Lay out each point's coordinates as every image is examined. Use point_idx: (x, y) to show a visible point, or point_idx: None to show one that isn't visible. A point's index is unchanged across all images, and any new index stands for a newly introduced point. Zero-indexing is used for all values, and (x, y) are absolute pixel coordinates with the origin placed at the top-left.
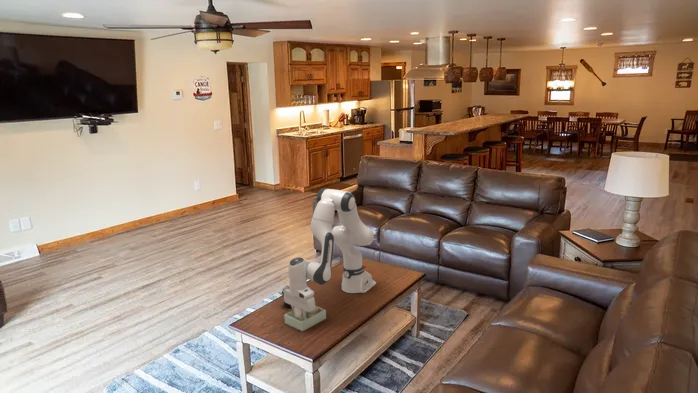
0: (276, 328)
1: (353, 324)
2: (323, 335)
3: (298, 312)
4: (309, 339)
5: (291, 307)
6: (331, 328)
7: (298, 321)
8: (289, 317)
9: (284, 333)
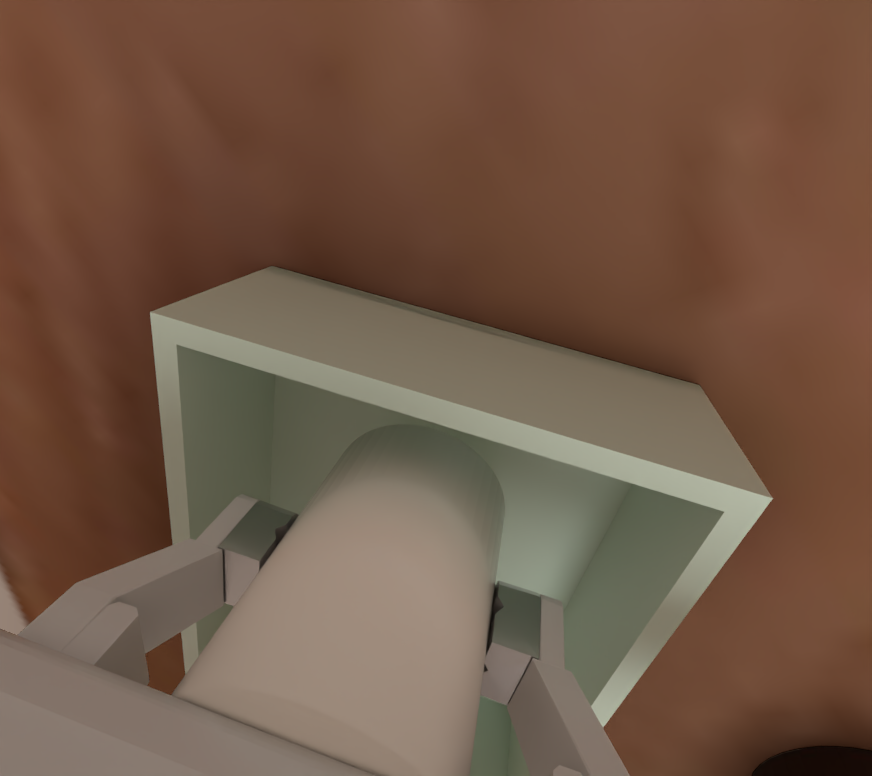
0: (804, 144)
1: (13, 569)
2: (6, 297)
3: (285, 564)
4: (27, 101)
5: (796, 762)
6: (76, 463)
7: (258, 339)
8: (564, 430)
9: (509, 39)
